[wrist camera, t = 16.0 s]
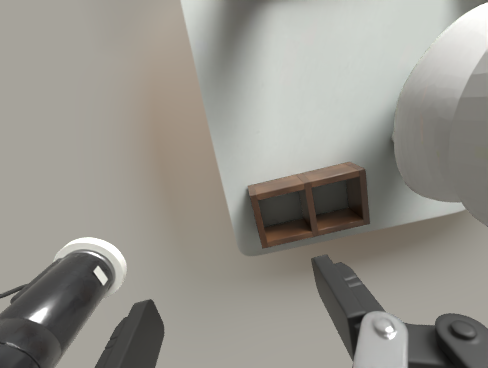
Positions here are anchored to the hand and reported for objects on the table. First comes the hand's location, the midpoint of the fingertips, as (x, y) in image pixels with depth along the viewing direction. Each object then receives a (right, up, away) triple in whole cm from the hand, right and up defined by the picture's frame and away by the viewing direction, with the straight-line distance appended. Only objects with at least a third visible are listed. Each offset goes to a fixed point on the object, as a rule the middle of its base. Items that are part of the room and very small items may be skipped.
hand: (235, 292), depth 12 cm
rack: (+11, +3, +30) cm, 32 cm away
